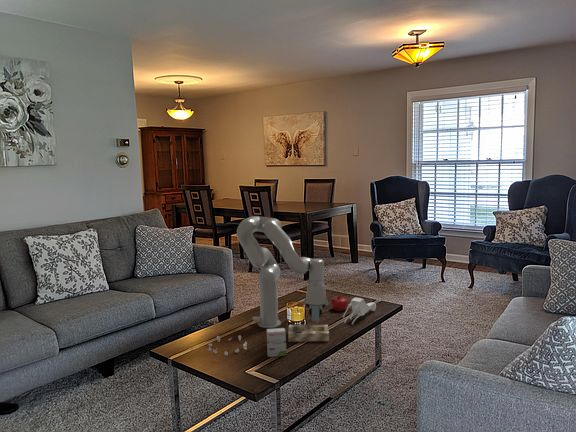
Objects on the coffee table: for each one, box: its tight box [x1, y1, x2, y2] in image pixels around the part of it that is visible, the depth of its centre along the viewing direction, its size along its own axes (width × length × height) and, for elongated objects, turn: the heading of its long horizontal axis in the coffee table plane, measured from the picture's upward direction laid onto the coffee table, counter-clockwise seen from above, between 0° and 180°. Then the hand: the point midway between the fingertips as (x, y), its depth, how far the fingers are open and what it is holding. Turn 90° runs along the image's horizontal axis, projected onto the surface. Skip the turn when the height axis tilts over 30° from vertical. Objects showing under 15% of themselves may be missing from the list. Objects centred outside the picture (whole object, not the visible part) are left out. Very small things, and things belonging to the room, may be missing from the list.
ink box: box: [266, 327, 287, 358], centre depth 211 cm, size 9×5×12 cm, turn 96°
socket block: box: [287, 324, 330, 342], centre depth 231 cm, size 20×12×4 cm, turn 88°
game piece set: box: [207, 334, 248, 356], centre depth 221 cm, size 19×20×4 cm
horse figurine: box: [342, 296, 377, 326], centre depth 258 cm, size 6×18×28 cm
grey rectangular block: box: [310, 304, 320, 322], centre depth 244 cm, size 4×4×8 cm
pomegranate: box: [330, 294, 349, 312], centre depth 272 cm, size 10×10×9 cm
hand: (315, 315), depth 244 cm, fingers closed on grey rectangular block, 4 cm apart
